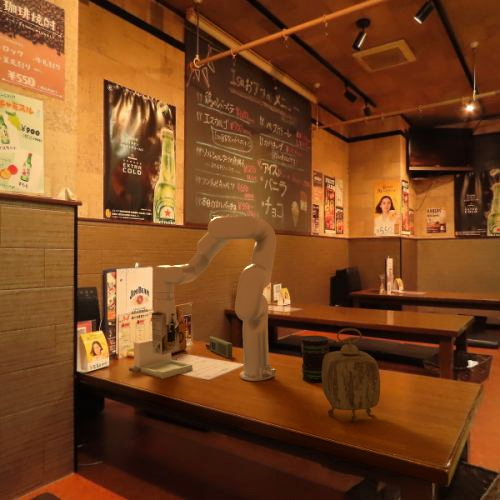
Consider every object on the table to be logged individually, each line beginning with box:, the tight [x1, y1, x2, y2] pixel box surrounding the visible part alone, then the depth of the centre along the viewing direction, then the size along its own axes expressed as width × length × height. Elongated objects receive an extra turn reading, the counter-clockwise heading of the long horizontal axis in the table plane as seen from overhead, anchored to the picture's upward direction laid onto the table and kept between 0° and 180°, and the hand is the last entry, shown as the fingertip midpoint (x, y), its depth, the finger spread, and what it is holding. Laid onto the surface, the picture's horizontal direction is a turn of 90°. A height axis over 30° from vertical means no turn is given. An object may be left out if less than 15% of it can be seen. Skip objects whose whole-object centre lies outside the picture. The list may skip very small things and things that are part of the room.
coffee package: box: [171, 305, 188, 355], centre depth 198 cm, size 10×12×22 cm
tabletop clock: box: [321, 327, 381, 423], centre depth 113 cm, size 14×9×25 cm, turn 92°
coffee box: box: [151, 311, 180, 355], centre depth 166 cm, size 9×6×16 cm
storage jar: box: [301, 335, 330, 384], centre depth 149 cm, size 10×10×15 cm
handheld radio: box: [205, 335, 233, 359], centre depth 195 cm, size 7×3×25 cm
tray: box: [140, 360, 193, 380], centre depth 166 cm, size 14×15×2 cm
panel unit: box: [128, 338, 178, 373], centre depth 175 cm, size 6×20×11 cm, turn 138°
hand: (165, 340), depth 166 cm, fingers closed on coffee box, 6 cm apart
